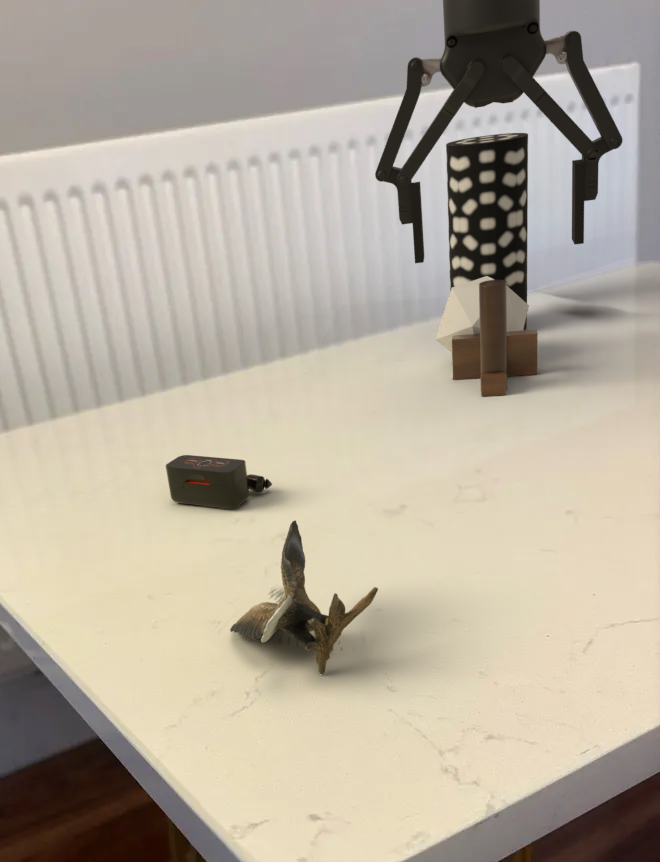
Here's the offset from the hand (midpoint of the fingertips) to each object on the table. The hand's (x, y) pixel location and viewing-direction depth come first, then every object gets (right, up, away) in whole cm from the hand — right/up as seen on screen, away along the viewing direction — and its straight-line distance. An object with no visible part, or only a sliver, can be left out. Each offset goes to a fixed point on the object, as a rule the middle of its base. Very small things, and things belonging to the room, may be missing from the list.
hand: (497, 251), depth 92 cm
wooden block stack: (+2, -10, +7) cm, 13 cm away
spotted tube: (+6, -1, +25) cm, 26 cm away
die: (+3, -7, +15) cm, 16 cm away
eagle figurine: (-21, -34, -31) cm, 50 cm away
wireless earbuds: (-25, -23, -9) cm, 35 cm away
